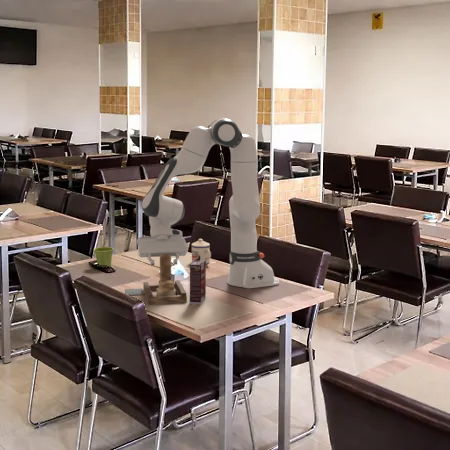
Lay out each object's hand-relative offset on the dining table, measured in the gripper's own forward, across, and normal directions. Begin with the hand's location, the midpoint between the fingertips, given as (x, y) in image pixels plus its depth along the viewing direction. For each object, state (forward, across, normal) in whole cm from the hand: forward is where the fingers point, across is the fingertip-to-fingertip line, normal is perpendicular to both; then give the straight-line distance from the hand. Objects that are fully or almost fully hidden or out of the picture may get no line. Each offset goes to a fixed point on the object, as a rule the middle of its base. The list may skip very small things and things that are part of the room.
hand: (164, 264), depth 271 cm
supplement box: (+19, +12, -3) cm, 23 cm away
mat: (+7, -12, +9) cm, 17 cm away
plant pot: (-24, -23, +41) cm, 53 cm away
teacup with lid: (-23, +24, +40) cm, 52 cm away
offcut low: (+15, 0, +2) cm, 15 cm away
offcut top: (+12, 0, -1) cm, 12 cm away
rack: (+12, -1, +4) cm, 13 cm away
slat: (+10, 0, +7) cm, 12 cm away
